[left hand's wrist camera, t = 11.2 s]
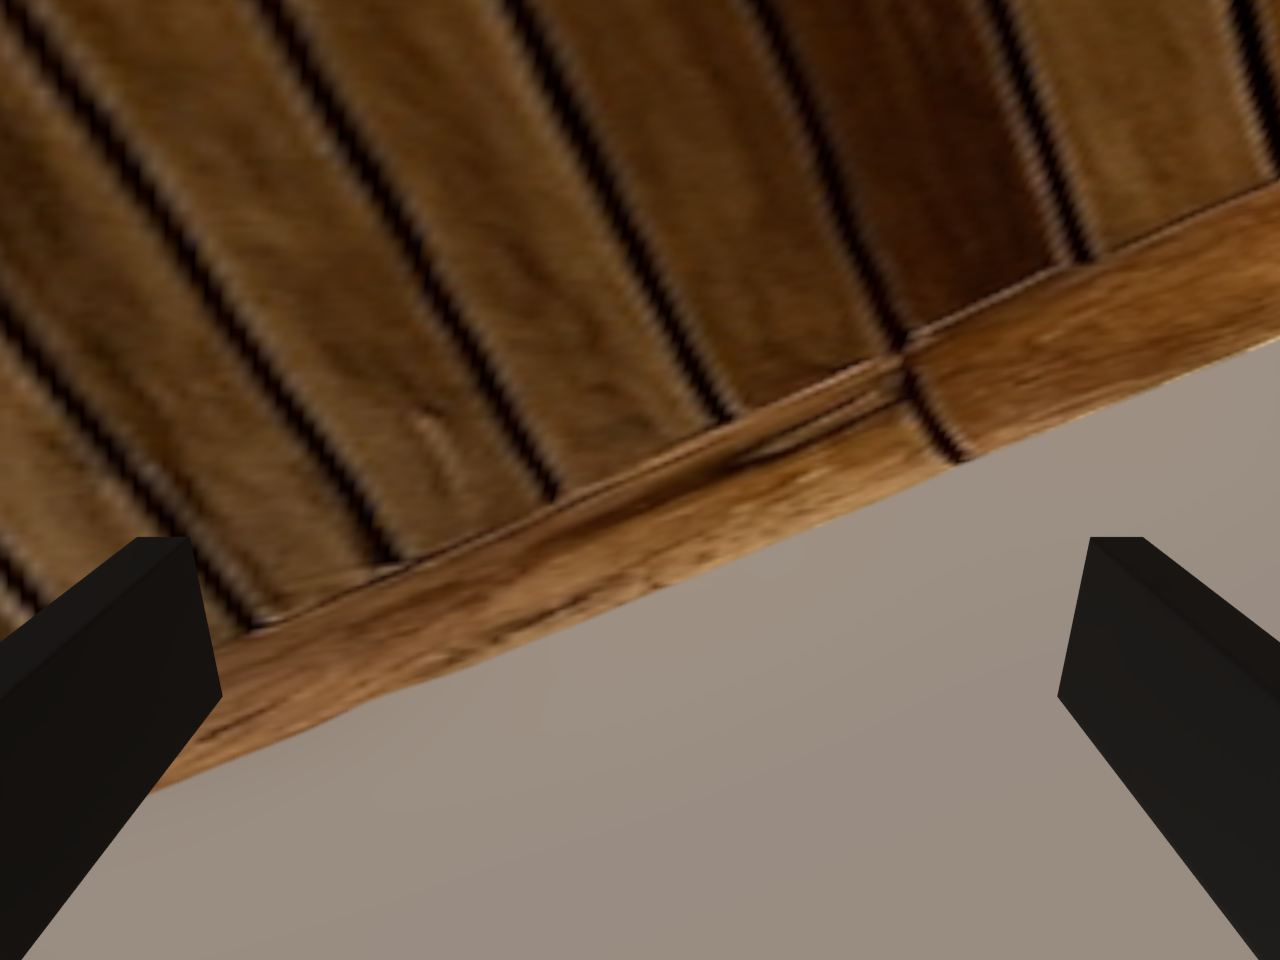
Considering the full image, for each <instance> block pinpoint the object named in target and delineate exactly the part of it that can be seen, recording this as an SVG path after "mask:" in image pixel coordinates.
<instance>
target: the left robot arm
mask: <svg viewBox="0 0 1280 960" xmlns="http://www.w3.org/2000/svg"><path fill="white" fill-rule="evenodd" d="M222 697H223V696H222V691H221V686H220V681H219V676H218V672H217V667H216V662H215V657H214V652H213V647H212V643H211V638H210V633H209V628H208V623H207V618H206V614H205V609H204V604H203V599H202V594H201V589H200V585H199V580H198V575H197V570H196V565H195V560H194V556H193V551H192V546H191V541H190V537H137V538H135V539H134V540H133V541H131V542H130V543H129V544H127V545H126V546H125V547H123V548H122V549H121V550H120V551H118V552H117V553H116V554H114V555H113V556H112V557H110V558H109V559H108V560H107V561H105V562H104V563H103V564H101V565H100V566H99V567H97V568H96V569H95V570H94V571H92V572H91V573H90V574H88V575H87V576H86V577H84V578H83V579H82V580H81V581H79V582H78V583H77V584H75V585H74V586H73V587H71V588H70V589H69V590H68V591H66V592H65V593H64V594H62V595H61V596H60V597H58V598H57V599H56V600H55V601H53V602H52V603H51V604H49V605H48V606H47V607H45V608H44V609H43V610H42V611H40V612H39V613H38V614H36V615H35V616H34V617H32V618H31V619H30V620H29V621H27V622H26V623H25V624H23V625H22V626H21V627H19V628H18V629H17V630H16V631H14V632H13V633H12V634H10V635H9V636H8V637H6V638H5V639H4V640H3V641H1V642H0V960H22V958H23V957H24V956H25V955H26V953H27V952H28V951H29V949H30V948H31V947H32V945H33V944H34V943H35V941H36V940H37V939H38V937H39V936H40V935H41V934H42V932H43V931H44V930H45V928H46V927H47V926H48V924H49V923H50V922H51V920H52V919H53V918H54V917H55V915H56V914H57V913H58V911H59V910H60V909H61V907H62V906H63V905H64V903H65V902H66V901H67V900H68V898H69V897H70V896H71V894H72V893H73V892H74V890H75V889H76V888H77V886H78V885H79V884H80V883H81V881H82V880H83V879H84V877H85V876H86V875H87V873H88V872H89V871H90V869H91V868H92V867H93V865H94V864H95V863H96V862H97V860H98V859H99V858H100V856H101V855H102V854H103V852H104V851H105V850H106V848H107V847H108V846H109V845H110V843H111V842H112V841H113V839H114V838H115V837H116V835H117V834H118V833H119V831H120V830H121V829H122V828H123V826H124V825H125V824H126V822H127V821H128V820H129V818H130V817H131V816H132V814H133V813H134V812H135V811H136V809H137V808H138V807H139V805H140V804H141V803H142V801H143V800H144V799H145V797H146V796H147V795H148V794H149V792H150V791H151V790H152V788H153V787H154V786H155V784H156V783H157V782H158V780H159V779H160V778H161V777H162V775H163V774H164V773H165V771H166V770H167V769H168V767H169V766H170V765H171V763H172V762H173V761H174V760H175V758H176V757H177V756H178V754H179V753H180V752H181V750H182V749H183V748H184V746H185V745H186V744H187V743H188V741H189V740H190V739H191V737H192V736H193V735H194V733H195V732H196V731H197V729H198V728H199V727H200V726H201V724H202V723H203V722H204V720H205V719H206V718H207V716H208V715H209V714H210V712H211V711H212V710H213V709H214V707H215V706H216V705H217V703H218V702H219V701H220V699H221V698H222ZM1058 698H1059V699H1060V701H1061V702H1062V703H1063V705H1064V706H1065V707H1066V708H1067V710H1068V711H1069V712H1070V714H1071V715H1072V716H1073V718H1074V719H1075V720H1076V722H1077V723H1078V724H1079V726H1080V727H1081V728H1082V729H1083V731H1084V732H1085V733H1086V735H1087V736H1088V737H1089V739H1090V740H1091V741H1092V743H1093V744H1094V745H1095V746H1096V748H1097V749H1098V750H1099V752H1100V753H1101V754H1102V756H1103V757H1104V758H1105V760H1106V761H1107V762H1108V763H1109V765H1110V766H1111V767H1112V769H1113V770H1114V771H1115V773H1116V774H1117V775H1118V777H1119V778H1120V779H1121V780H1122V782H1123V783H1124V784H1125V786H1126V787H1127V788H1128V790H1129V791H1130V792H1131V794H1132V795H1133V796H1134V797H1135V799H1136V800H1137V801H1138V803H1139V804H1140V805H1141V807H1142V808H1143V809H1144V811H1145V812H1146V813H1147V815H1148V816H1149V817H1150V818H1151V820H1152V821H1153V822H1154V824H1155V825H1156V826H1157V828H1158V829H1159V830H1160V832H1161V833H1162V834H1163V835H1164V837H1165V838H1166V839H1167V841H1168V842H1169V843H1170V845H1171V846H1172V847H1173V848H1174V850H1175V851H1176V852H1177V854H1178V855H1179V856H1180V858H1181V859H1182V860H1183V862H1184V863H1185V864H1186V866H1187V867H1188V868H1189V869H1190V871H1191V872H1192V873H1193V875H1194V876H1195V877H1196V879H1197V880H1198V881H1199V883H1200V884H1201V885H1202V886H1203V888H1204V889H1205V890H1206V892H1207V893H1208V894H1209V896H1210V897H1211V898H1212V900H1213V901H1214V902H1215V903H1216V905H1217V906H1218V907H1219V909H1220V910H1221V911H1222V913H1223V914H1224V915H1225V917H1226V918H1227V919H1228V920H1229V922H1230V923H1231V924H1232V926H1233V927H1234V928H1235V930H1236V931H1237V932H1238V934H1239V935H1240V936H1241V938H1242V939H1243V940H1244V941H1245V943H1246V944H1247V945H1248V947H1249V948H1250V949H1251V951H1252V952H1253V953H1254V955H1255V956H1256V957H1257V958H1258V960H1280V642H1279V641H1277V640H1276V639H1275V638H1274V637H1272V636H1271V635H1270V634H1268V633H1267V632H1266V631H1264V630H1263V629H1262V628H1261V627H1259V626H1258V625H1257V624H1255V623H1254V622H1253V621H1251V620H1250V619H1249V618H1248V617H1246V616H1245V615H1244V614H1242V613H1241V612H1240V611H1238V610H1237V609H1236V608H1234V607H1233V606H1232V605H1231V604H1229V603H1228V602H1227V601H1225V600H1224V599H1223V598H1221V597H1220V596H1219V595H1218V594H1216V593H1215V592H1214V591H1212V590H1211V589H1210V588H1208V587H1207V586H1206V585H1205V584H1203V583H1202V582H1201V581H1199V580H1198V579H1197V578H1196V577H1194V576H1193V575H1192V574H1190V573H1189V572H1188V571H1186V570H1185V569H1184V568H1182V567H1181V566H1180V565H1179V564H1177V563H1176V562H1175V561H1173V560H1172V559H1171V558H1170V557H1168V556H1167V555H1166V554H1164V553H1163V552H1162V551H1160V550H1159V549H1158V548H1157V547H1155V546H1154V545H1153V544H1151V543H1150V542H1149V541H1147V540H1146V539H1145V538H1143V537H1090V541H1089V546H1088V551H1087V556H1086V560H1085V565H1084V570H1083V575H1082V580H1081V585H1080V589H1079V594H1078V599H1077V604H1076V609H1075V614H1074V618H1073V623H1072V628H1071V633H1070V638H1069V643H1068V647H1067V652H1066V657H1065V662H1064V667H1063V672H1062V676H1061V681H1060V686H1059V691H1058Z"/></svg>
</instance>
